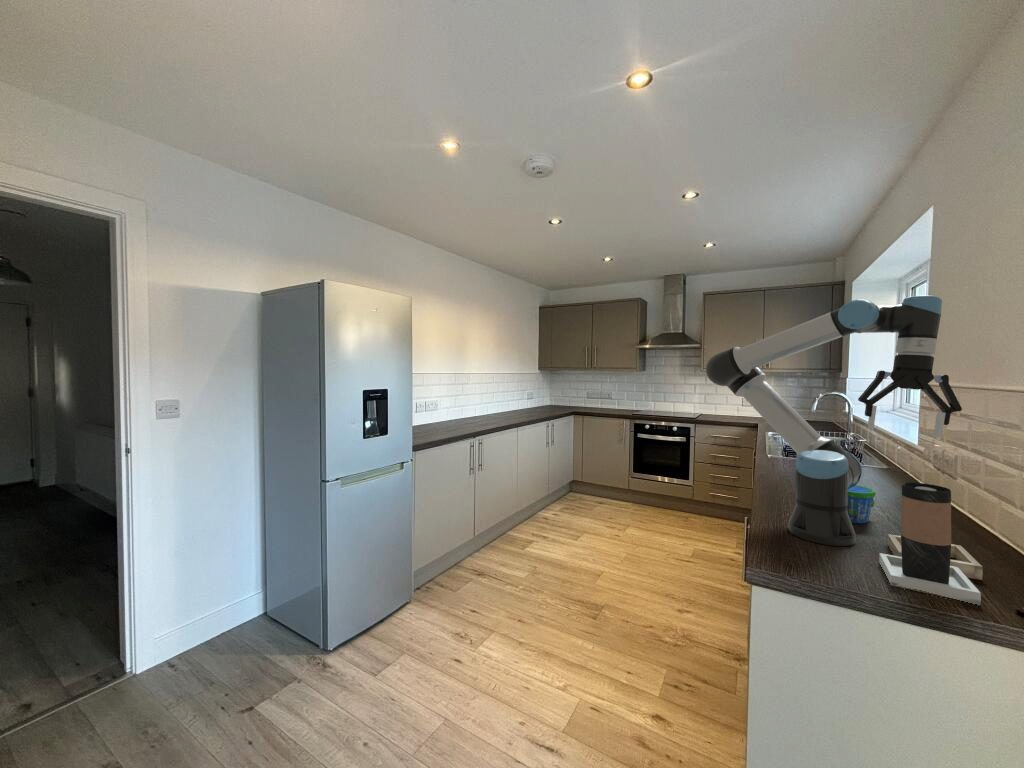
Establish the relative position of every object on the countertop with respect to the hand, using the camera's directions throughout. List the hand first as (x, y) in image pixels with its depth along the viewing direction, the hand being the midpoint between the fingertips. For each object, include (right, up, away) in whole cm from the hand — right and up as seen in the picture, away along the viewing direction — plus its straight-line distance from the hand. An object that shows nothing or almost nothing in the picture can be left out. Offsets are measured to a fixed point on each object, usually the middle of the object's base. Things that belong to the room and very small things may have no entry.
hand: (902, 432), depth 109 cm
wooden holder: (-4, -30, -11) cm, 32 cm away
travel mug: (-16, -29, -22) cm, 40 cm away
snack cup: (0, -30, +17) cm, 34 cm away
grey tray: (-16, -30, -22) cm, 40 cm away
